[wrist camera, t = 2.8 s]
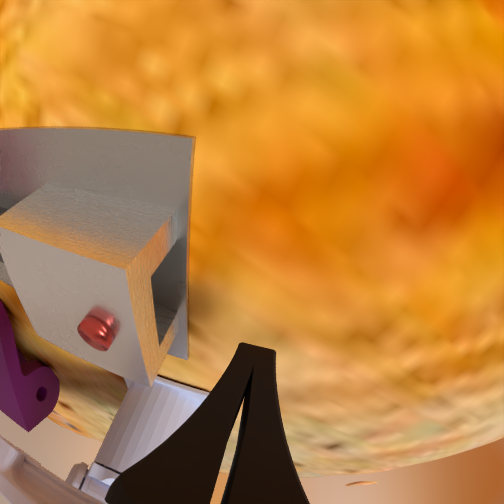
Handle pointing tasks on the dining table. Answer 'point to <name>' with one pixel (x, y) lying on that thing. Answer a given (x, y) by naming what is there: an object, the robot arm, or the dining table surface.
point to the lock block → (93, 275)
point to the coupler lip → (110, 187)
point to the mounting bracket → (23, 381)
